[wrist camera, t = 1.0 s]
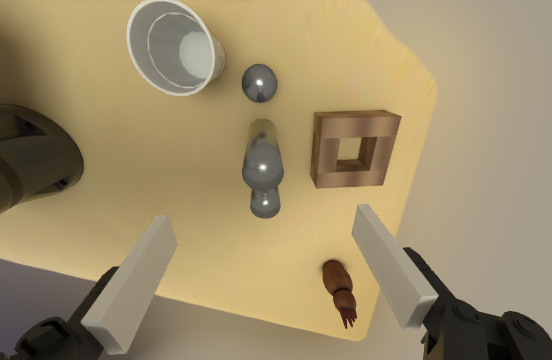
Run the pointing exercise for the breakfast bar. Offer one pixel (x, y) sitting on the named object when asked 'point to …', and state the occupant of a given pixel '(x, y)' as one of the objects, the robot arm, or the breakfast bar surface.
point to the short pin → (259, 83)
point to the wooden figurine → (340, 290)
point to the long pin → (262, 157)
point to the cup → (173, 47)
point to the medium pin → (265, 203)
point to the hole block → (372, 156)
